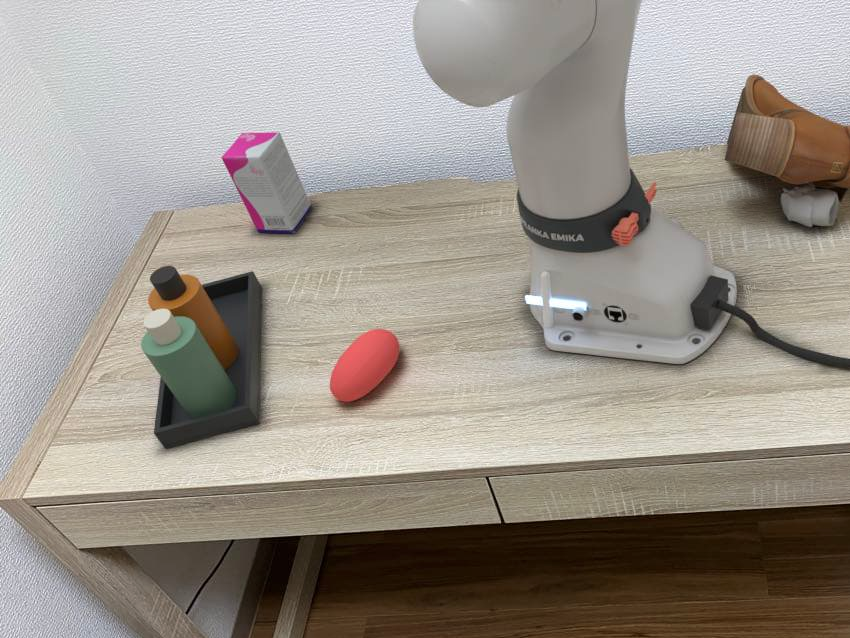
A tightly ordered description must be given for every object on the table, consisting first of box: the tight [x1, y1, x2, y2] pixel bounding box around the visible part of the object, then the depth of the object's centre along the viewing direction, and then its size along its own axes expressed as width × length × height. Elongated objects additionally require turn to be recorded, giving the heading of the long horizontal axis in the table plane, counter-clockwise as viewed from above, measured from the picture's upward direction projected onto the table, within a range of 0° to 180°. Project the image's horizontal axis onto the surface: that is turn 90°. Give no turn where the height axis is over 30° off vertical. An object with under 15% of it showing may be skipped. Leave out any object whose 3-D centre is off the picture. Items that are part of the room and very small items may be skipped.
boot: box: [724, 73, 850, 189], centre depth 105 cm, size 9×24×19 cm
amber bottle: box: [147, 265, 239, 370], centre depth 98 cm, size 6×6×12 cm
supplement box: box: [221, 131, 313, 234], centre depth 116 cm, size 6×6×12 cm
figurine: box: [780, 183, 841, 228], centre depth 101 cm, size 4×8×5 cm
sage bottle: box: [140, 309, 237, 419], centre depth 93 cm, size 6×6×12 cm
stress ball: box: [329, 328, 401, 403], centre depth 95 cm, size 5×9×6 cm
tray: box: [153, 270, 263, 450], centre depth 102 cm, size 23×10×3 cm, turn 12°
